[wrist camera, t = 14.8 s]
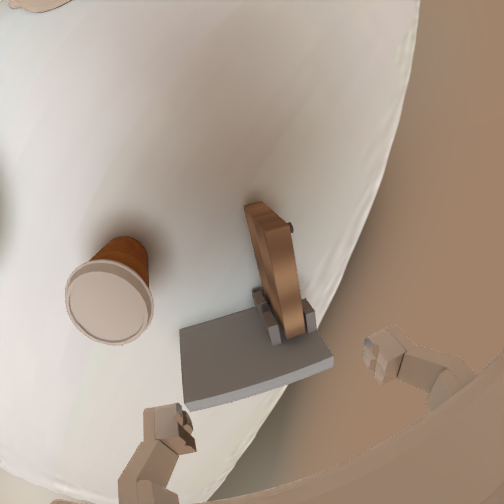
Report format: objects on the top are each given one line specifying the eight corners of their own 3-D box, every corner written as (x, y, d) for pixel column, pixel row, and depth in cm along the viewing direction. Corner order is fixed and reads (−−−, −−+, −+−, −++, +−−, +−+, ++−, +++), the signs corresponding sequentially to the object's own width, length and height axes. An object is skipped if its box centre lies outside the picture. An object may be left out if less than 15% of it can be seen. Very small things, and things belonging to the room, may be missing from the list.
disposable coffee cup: (173, 249, 35) (171, 300, 24) (139, 301, 37) (129, 361, 26) (111, 210, 31) (80, 246, 20) (82, 268, 33) (51, 320, 22)
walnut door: (243, 206, 35) (265, 232, 26) (272, 198, 35) (302, 221, 26) (264, 295, 41) (287, 339, 32) (288, 288, 42) (316, 328, 33)
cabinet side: (171, 312, 39) (172, 387, 26) (289, 276, 41) (333, 336, 28) (184, 338, 41) (190, 411, 28) (294, 304, 43) (333, 366, 31)
